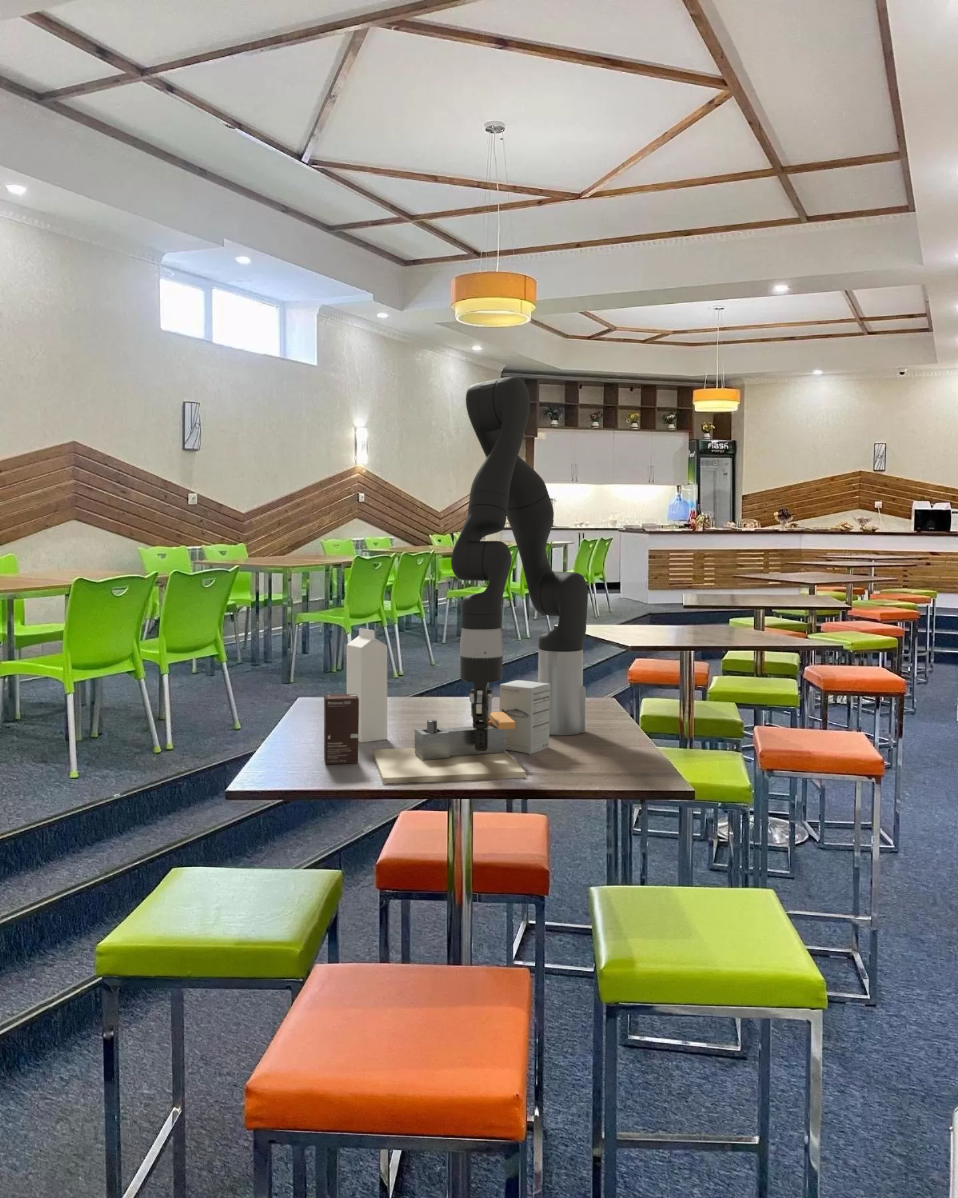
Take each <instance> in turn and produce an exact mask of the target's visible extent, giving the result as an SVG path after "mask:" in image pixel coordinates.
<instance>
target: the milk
mask: <svg viewBox="0 0 958 1198" xmlns="http://www.w3.org/2000/svg"><path fill="white" fill-rule="evenodd" d="M375 635H376V634H375V630H373V629H368V628H361V627H360V628H359V629H358V635H357V636H356V637H355V638H354V639H352V640H351V641H349V642H348V643H347V644H346V694H357V696H358V698H359V726H358V743H361V744H365V743H369V742H377V741H383V740H388V645H386V644H385V643H384V642H382V641H380V640H378V639H377V638H376V637H375Z"/></svg>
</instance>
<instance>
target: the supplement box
mask: <svg viewBox="0 0 958 1198" xmlns="http://www.w3.org/2000/svg"><path fill="white" fill-rule="evenodd" d="M498 708H499V711H498V712H504V713H505V714H506V715H508V716H509V717H510V718H511V719H512V720H513V721H515V729H505V750H508V751H514V752H518V753H526V754H530V755H531V754H535V753H538V752H540V751H542V750H543V751H544V750H546V749H548V748H549V747H550V734H549V721H550V684H548V683H539V682H538V681H532V680H531V681H529V680H521V679H520V680H519V679H517V680H512V681H509V682H505V683H500V684H499V707H498Z"/></svg>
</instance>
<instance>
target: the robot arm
mask: <svg viewBox="0 0 958 1198" xmlns="http://www.w3.org/2000/svg"><path fill="white" fill-rule="evenodd" d="M465 394H466V395H465V408H466V410H467V411H466V412H467V416H468V418H469V421H470V424H471V426H472V429H473V432H474V433H475V436H476V437H477V441H478V442H479V445H480V447H481V449H482V451H483V453H484V455H485V460H484V462H483V463H482V464H481V466H480V468H479V469H478V471H477V472H476V475H475V476H474V477H473V478H474V479H473V481H472V483H471V486H470V490H469V491H470V492H469V497H468V498H469V499H468V506H467V507H468V508H467V514H466V519H465V521H464V524H463V526H462V529H461V531H460V534H459V536H458V538H457V540H456V542H455V544H454V547H453V550H452V553H451V557H450V565H451V570H452V572H453V574H454V575H455V577H456V578H457V579H459V580H461V581H469V582H470V581H475V582H476V581H480V582H481V581H485V582H486V581H487V582H488V584H487V586H486V588H485V590H484V591H481V592H478V593H473V594H472V593H471V594H468V595H466V596H464V597H463V599H462V601H461V633H460V640H459V641H460V643H459V645H460V649H459V651H460V652H459V657H460V659H459V661H460V663H459V665H460V666H459V668H460V670H459V672H460V673H459V674H460V675H459V676H460V679H461V681H463V682H467V683H471V682H472V683H473V689H470V691H469V702H470V712H471V713H470V714H471V717H472V726H473V728H474V730H475V750H476V751H486V750H487V748H488V728H489V721H490V718H489V717H490V715H491V712H493V710H492V707H493V705H492V703H493V702H492V700H493V698H494V689H490V683H495V682H500V681H501V680H503V671H504V669H503V662H504V661H503V659H504V658H503V655H504V654H503V653H504V651H503V650H504V649H503V634H502V604H503V597H504V592H505V587H506V584H507V580H508V577H509V574H510V570H511V567H512V562H513V561H512V559H513V558H512V553H511V550H510V548H509V547H508V545H507V544H506V543H505V542H503V541H500V540H482V539H483V538H485V537H488V536H490V535H495V534H497V533H499V532H501V531H503V530H504V529H505V526H506V522H507V520H508V524H509V526H510V528H511V531H512V534H513V537H514V540H515V544H516V547H517V551H518V554H519V556H520V560H521V564H522V569H523V574H524V577H525V583H526V586H527V591H528V595H529V599H530V602H531V604H532V606H533V608H534V609H535V611H536V613H538V614H541V615H543V616H551V617H558V624H557V626H556V627H555V628H554V629H553V630H551V631H548V632H545V633H542V634H541V635H539V637H538V645H537V646H538V649H537V650H538V651H537V652H538V653H537V654H538V657H537V658H538V660H537V661H538V663H537V665H538V666H537V667H538V669H537V670H538V673H537V677H538V678H537V682H539V683H548V684H550V721H549V735H553V736H571V735H578V734H585V733H586V701H587V700H586V694H587V693H586V687H585V686H584V685H583V684H584V682H583V681H584V680H583V679H584V677H583V675H584V673H583V672H584V670H583V668H584V663H583V662H584V640H585V637H586V635H587V634H586V633H587V618H588V605H589V592H588V591H589V589H588V584H587V582H586V579H585V576H583V575H582V574H580V573H579V572H574V571H573V572H572V571H554V570H552V568H551V566H550V562H549V558H548V555H547V554H548V553H547V543H548V539H549V537H550V535H551V534H550V533H551V530H552V526H553V523H554V522H553V521H554V516H555V514H554V508H553V507H554V506H553V503H552V501H551V498H550V494H549V492H548V489H547V486H546V483H545V481H544V480H543V478H542V477H541V476H540V474H539V473H538V472H537V471H536V470H535V469H534V468H533V467H531V465H529V463H528V462H526V461H525V460H524V459H523V458H522V457H521V456H519V453H520V450H521V447H522V442H523V440H524V435H525V433H526V428H527V425H528V422H529V421H528V420H529V417H530V412H531V410H530V409H531V396H530V394H529V390H528V387H527V385H526V384H525V381H523V380H522V379H521V378H519V376H506V377H501V378H496V379H490V380H486V381H482V382H477V383H474V384H471V385H470V386H469V387H468V388H467V390H466V392H465Z"/></svg>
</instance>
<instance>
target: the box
mask: <svg viewBox="0 0 958 1198" xmlns="http://www.w3.org/2000/svg"><path fill="white" fill-rule="evenodd" d="M323 696H324V697H323V706H324V707H323V709H324V710H323V717H324V718H323V720H324V721H323V759H324V760H323V761H324V764H325V765H334V764H335V765H336V764H337V765H338V764H358V763H359V742H358V726H359V698H358V696H357V694H347V693H335V694H324V695H323Z"/></svg>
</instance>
